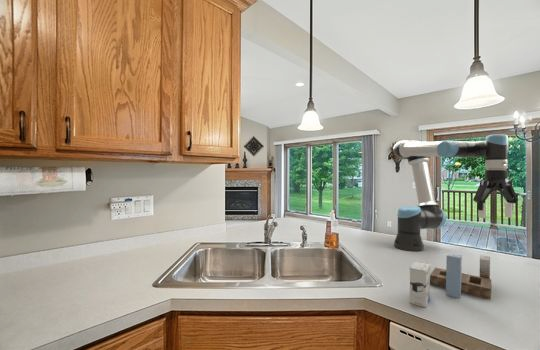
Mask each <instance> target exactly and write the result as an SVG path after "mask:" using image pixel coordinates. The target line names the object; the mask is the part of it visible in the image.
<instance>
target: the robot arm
mask: <svg viewBox="0 0 540 350" xmlns="http://www.w3.org/2000/svg"><path fill="white" fill-rule="evenodd" d="M509 145H510V144H509V136H508V135H507V134H503V133H502V134H501V133H500V134H499V133H497V134H490V135H489V134H488V135H487V136H486V137H485V140H479V141H478V140H477V141H462V140H461V141H460V140H459V141H457V140H442V141H425V140H409V139H408V140H407V139H405V140H400V141H399V140H398V141H397V142H396V143H395V144H394V145H393V149H392V152H393V154H394V156H395V157H396V158H398V159H401V160H407V162H408V165H410V166H411V170H412V173H413V174H412V175H413V179H414V180H413V181H414V185H415V191H416V196H417V200H418V201H417V202H418V204H417V205H408V206H406V205H405V206H402V207H399V208H398V211H397V234H396V236H395V238H394V241H393V246H394V247H395V248H397V249H400V250H403V251H404V250H405V251H410V252H411V251H412V252H421V251H423V250H425V249H424V247H425V245H424V242H423V239H422V236H421V230H429V229H430V230H431V229H432V230H434V229H440V228H443V226H445V224H446V223H447V214H446V212H445V211H444V209H442V208H440V204H439V203H437V202H436V200H435V199H436V198H435V194H434V189H433V185H432V180H431V179H432V178H431V175H430V174H431V173H430V170H429V165H428V163H429V161H431V160H430V158H431V157H443V158H467V159H473V158H475V159H476V158H485V161H484V163H485V164H484V166H485V167H484V168H485V172H484V178H485V179H486V180H483V179H482V180H479V185H478V188H477V190H476V192H475V194H474V197H473V198H472V201H473V202H474V203H476V204H477V208H476V209H477V210H478V213H477V215H478V216H477V217H478V218H479V219H480V218H481V219H486V214H487V213H486V212H487V211H486V210H487V207H486V205H487V204H486V203H485V202H486V200H487V199H488V198H489V197H490V195H491V194H492V193H493V192H499V193H500V194H501V196H502V197H503V199H504V200H505V201H506V202H504V217H505V218H509V219H510V218H511V219H513V211H514V204H516V203H517V202H518V201H519V198H518V196H517V194H516V191H515V188H514V186H513V181H512V180H506V179H508V175H509V174H508V172H509V171H508V170H507V169H508V166H509V165H508V161H509V159H508V157H509V155H508V154H509Z"/></svg>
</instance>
